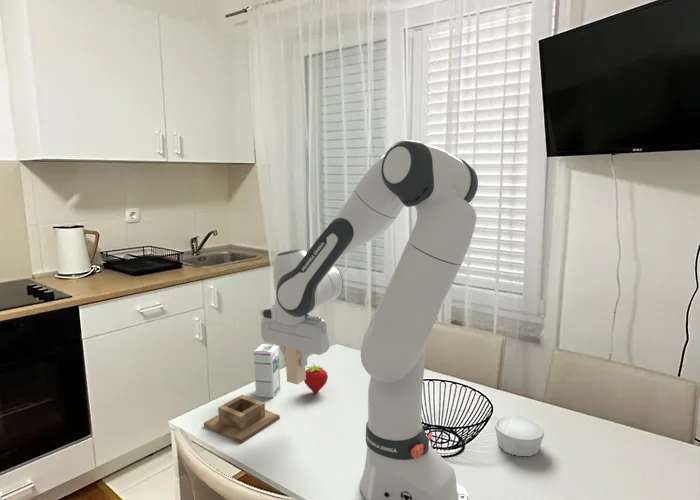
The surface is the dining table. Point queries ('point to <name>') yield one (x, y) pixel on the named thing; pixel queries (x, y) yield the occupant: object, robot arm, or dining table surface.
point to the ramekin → (519, 435)
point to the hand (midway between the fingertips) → (295, 363)
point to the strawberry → (315, 378)
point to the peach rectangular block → (294, 366)
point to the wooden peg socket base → (241, 418)
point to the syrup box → (267, 370)
